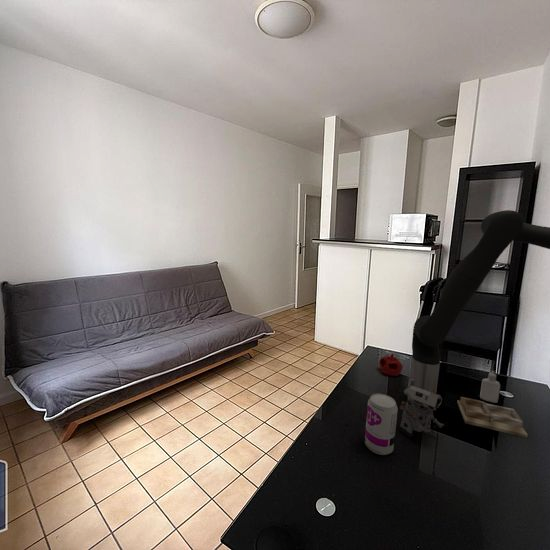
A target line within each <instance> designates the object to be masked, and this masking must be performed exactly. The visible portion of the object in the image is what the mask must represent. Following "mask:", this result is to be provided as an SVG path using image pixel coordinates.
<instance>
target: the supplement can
mask: <svg viewBox="0 0 550 550" xmlns="http://www.w3.org/2000/svg"><path fill="white" fill-rule="evenodd" d="M398 410H399V409H398V406H397V402H396V400H395V399H394V398H393V397H391V396H389V395H387V394H384V393H373V394H372V395H371V396H370V397H369V399H368V401H367V410H366V419H365V420H366V422H365V431H364V443H365V446H366V447H367V448H368V449H369V451H371V452H373V453H374V454H376V455H381V456H387V455H389V454H391V453H393V451H394V446H395V437H396V428H397V418H398Z"/></svg>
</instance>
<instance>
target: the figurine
mask: <svg viewBox="0 0 550 550" xmlns="http://www.w3.org/2000/svg"><path fill="white" fill-rule="evenodd" d="M403 394H404V395H406V396H407V395H409V397H410V398H411V400H408V399H405V400H402V401H401V405H400V408H399V410H400V411H401V412H402V416H401V422H400V425H399V428H398V430H400V432H402V433H403V434H405V435H406V436H408V438H412V437H414V432H413V431H416V432H418V433H422V432H424V433H426V434H427V433H431V434H432V435H434V434H435V432H436V430H435V429H432V430H430V428H429V427H430V422H431V420H432V422H433V423H434V424H436V425H437V427H438V428H440V429H442V428H443V427H446V428H448V426H449V425H448V422H445V423H441V422H439V421H438V419H437V418H436V417H435V416H434V411H436V410H437V409H438V408H439V407H440V405H442V403H443V402H442V401H443V397H442V396H441V395H440V394H439V393H437V392H436V393H432V392H429V391H426V390H423V389H420V388H418V387H415V386H412V385H410V386H409V387H408V386H407V388H405V389H404V390H403Z"/></svg>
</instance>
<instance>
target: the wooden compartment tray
mask: <svg viewBox="0 0 550 550" xmlns="http://www.w3.org/2000/svg"><path fill="white" fill-rule="evenodd" d="M456 403H457V406H458V408H459V412H460V413H461V417H462V419H463V422H464V423H465V424H467V425H471V426H476V427H480V428H484V429H489V430H492V431H493V430H494V431H497V432H501V433H505V434H510V435H515V436H518V437H523V438H527V439H528V436H529V435H528V433H527V432H526V430H525V428H523V422H524V421H523V420H522V418H521V417H520V415H519V414H518V412H517V411H516V410H515V409H514V408H510V407H506V406H501V405H496V404H491V403H487V402H485V400H484V401H483V400H478V399H473V398H469V397H464V396H460V400H458V399H457V402H456Z"/></svg>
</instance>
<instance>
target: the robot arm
mask: <svg viewBox="0 0 550 550" xmlns="http://www.w3.org/2000/svg"><path fill="white" fill-rule="evenodd" d="M480 230H481V232H482V234H483V235H482V237H481V238H480V240H479V241H478V243H477V244H476V246H475V247H474V248H473V249H472V250H471V251H470V252H469V253H468V254H467V255H466V256H465V257H464V258H462V260H461V261H460V262H459V263H458V264H456V266H455V267H454V269H453V270H452V272H451V273H450V275H449V276H448V277H447V280H446V281H445V283H444V285H443V287H442V291H441V293H440V297H439V301H438V303H437V305H436V307H435V309H434V310H433V312H432V313H431V314H430V315H422V316H420V317H418V318H416V320H415V322H414V324H413V329H412V342H411V351H412V352H411V353H412V354H411V364H410V372H409V374H408V385H407V387H409V386H410V385H412V386H415V387H418V388H420V389H423V390H426V391H429V392H432V393H437V388H438V382H439V373H440V366H441V356H442V355H441V352H440V345H441V344H442V343H444V342H445V341H446V339H447V337H448V335H449V333H450V331H451V329H452V328H453V325H454V323H455V322H456V320H457V318H458V317H459V315H460V314H461V313H462V312H463V310H464V308H465V307H466V306H467V304H468V303H469V302H470V301H471V299H472V298H473V296H474V295H475V294H476V292H477V290H478V289H479V288H480V287H481V285H482V283H483V282H484V280H485V279H486V278H487V276H488V274H489V273H490V271H491V270H492V268H493V267H494V265H495V264H496V262H497V260H498V259H499V257H500V256H501V255H502V254H503V252H504V251H505V250H506V249H507V248H508V247H509V245H510V244H511V243H512V242H519V243H525V244H528V245H532V246H537V247H540V248H544V249H547V250H550V227H549V226H543V225H536V224H531V223H527V222H524V218H523V216H522V214H521V213H519V212H518V211H516V210H511V209H510V210H509V209H507V210H501V211H500V210H499V211H496V212H493V213H490V214H489V215H487V216H486V217H484V219H483V220H482V222H481V224H480ZM406 397H407V401H408V400H411V398H410V397H409V395H406Z"/></svg>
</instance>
